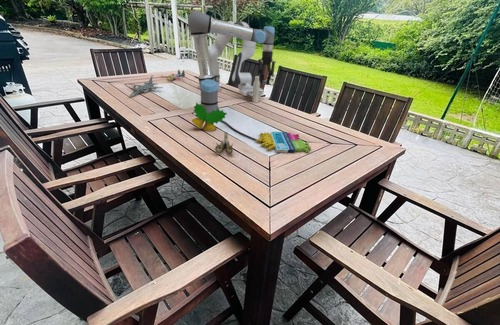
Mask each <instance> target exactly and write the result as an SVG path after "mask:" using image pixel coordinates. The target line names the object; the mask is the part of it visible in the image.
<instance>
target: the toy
mask: <svg viewBox="0 0 500 325" xmlns="http://www.w3.org/2000/svg"><path fill="white" fill-rule="evenodd" d="M185 76H186V73H185V70H182V72H181V70H180V69H178V70H177V74H176V73H171V74H169V75H168V76H163V75H160V78H161V79H162V78H163V79H164V78H165V79H166V81H169V82H171V81H173V80H180V81H185V78H184V77H185ZM180 77H181V78H180Z"/></svg>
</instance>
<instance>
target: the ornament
mask: <svg viewBox="0 0 500 325" xmlns="http://www.w3.org/2000/svg"><path fill="white" fill-rule="evenodd" d="M219 110H220V108H219V109H217V110H216V111H214V110H212V112H211V113H208V112H206V109H204V106H201V103H198V102H195V105H194V106H193V112H194V113H195V118H192V119H191V122H192V123H193V125H195V127H197V128H198V129H202V130H203V131H206V132H212V131H213V132H214V131H215V130H216V126H215V124H218V123H219V122H222V120H223V119H226V115H227V114H228V113H227V112H224V110H223V109H221V110H220V111H219ZM207 113H208V115H207ZM214 123H215V124H214ZM222 123H223V122H222Z"/></svg>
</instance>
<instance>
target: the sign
mask: <svg viewBox="0 0 500 325" xmlns="http://www.w3.org/2000/svg"><path fill="white" fill-rule="evenodd" d="M299 136H300V135H299V134H298V133H296V134H294V133H291V132H287V131H270V132H264V133H263V132H260V133H259V139H258V138H256V139H257V141H255V142H256V143H257V144H261V148H263V147H264V148H265V149H267V151H268V152H271V151H272V150H273V149H275V152H276V153H283V154H285V153H287V154H288V153H290V154H293V153H296V152H298V153H301V152H305V153H310V151H311V150H312V149H311V148H312V146H309V142H304V141H303V139H302V138H299ZM260 142H263V143H260Z"/></svg>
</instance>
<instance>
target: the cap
mask: <svg viewBox="0 0 500 325" xmlns="http://www.w3.org/2000/svg"><path fill="white" fill-rule="evenodd" d="M261 85H266V86H268V85H267V79H264V80H262V84H261Z"/></svg>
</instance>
